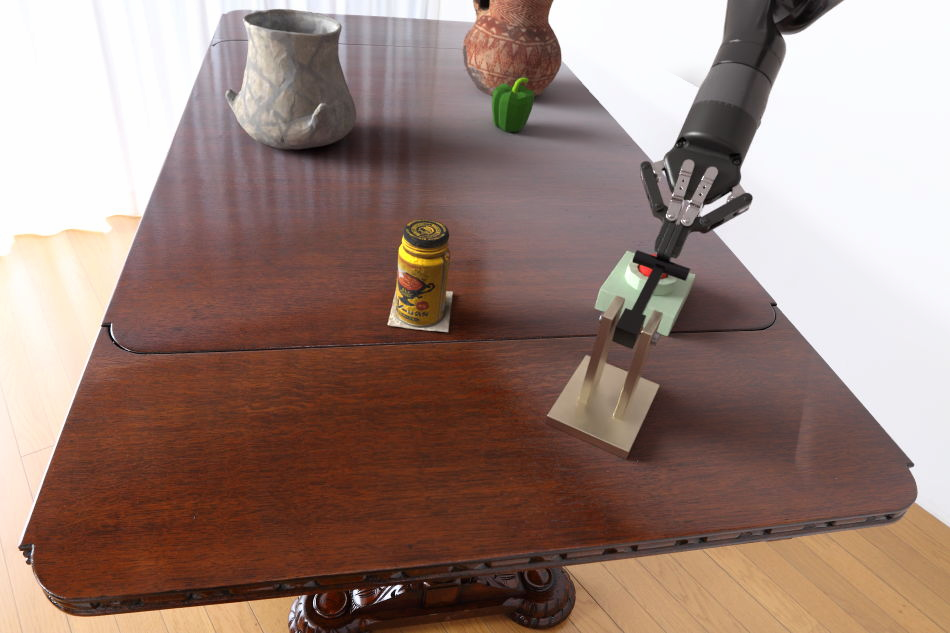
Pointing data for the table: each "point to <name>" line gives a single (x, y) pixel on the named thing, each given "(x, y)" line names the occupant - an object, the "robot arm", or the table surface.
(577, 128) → the table surface
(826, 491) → the table surface
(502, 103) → the bell pepper
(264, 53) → the vessel
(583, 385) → the bracket
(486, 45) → the jug
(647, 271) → the stop button
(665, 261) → the lever
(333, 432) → the table surface
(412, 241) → the condiment
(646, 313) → the stop block
